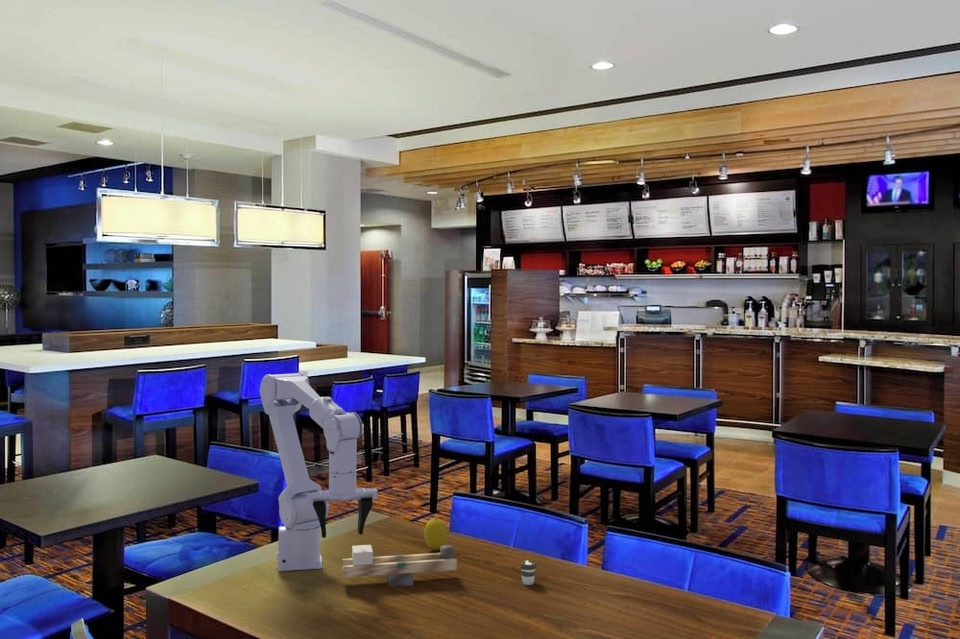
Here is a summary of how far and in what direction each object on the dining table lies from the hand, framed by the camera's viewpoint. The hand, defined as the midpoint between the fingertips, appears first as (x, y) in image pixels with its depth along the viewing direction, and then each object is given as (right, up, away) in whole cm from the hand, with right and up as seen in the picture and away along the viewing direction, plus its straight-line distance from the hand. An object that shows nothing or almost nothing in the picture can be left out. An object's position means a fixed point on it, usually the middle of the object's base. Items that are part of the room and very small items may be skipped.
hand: (342, 534), depth 158 cm
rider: (+4, -7, 0) cm, 8 cm away
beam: (+12, -11, +2) cm, 16 cm away
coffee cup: (+40, -12, +3) cm, 41 cm away
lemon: (+18, -10, +22) cm, 31 cm away
